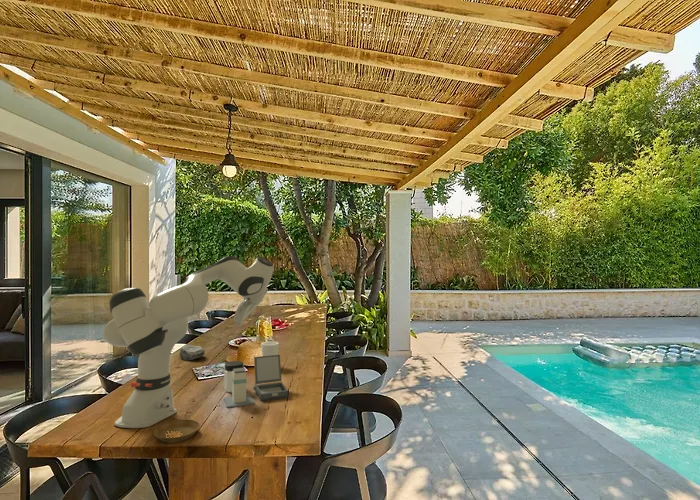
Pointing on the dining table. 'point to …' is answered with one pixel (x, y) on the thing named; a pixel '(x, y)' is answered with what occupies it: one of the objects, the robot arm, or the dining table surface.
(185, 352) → the decorative stone
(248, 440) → the dining table surface
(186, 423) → the plant saucer
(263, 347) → the foam cup
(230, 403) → the mat
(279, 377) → the grey picture frame
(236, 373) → the block
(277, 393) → the case
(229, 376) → the jar
